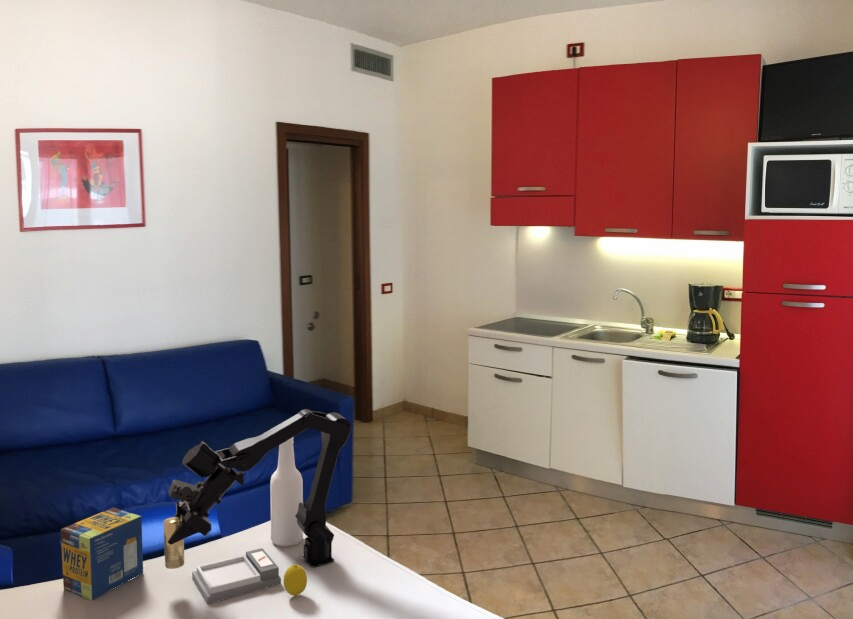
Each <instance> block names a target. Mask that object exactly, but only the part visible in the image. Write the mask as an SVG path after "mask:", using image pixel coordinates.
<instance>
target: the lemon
mask: <svg viewBox="0 0 853 619" xmlns="http://www.w3.org/2000/svg"><path fill="white" fill-rule="evenodd" d="M307 583H308V576H307V572H306V570H305V569H304V567H303V566H301V565H299V564H296V563H295V564H292V565H290V566H288V567H287V569H286V570H285V572H284V574H283V586H284V590H285V592H286V593H287V594H289V595H291V596H294V597H297V596H298V595H301V594H302V593H303V592H304V590H306V587H307V585H308V584H307Z"/></svg>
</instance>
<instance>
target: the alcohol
mask: <svg viewBox="0 0 853 619" xmlns="http://www.w3.org/2000/svg"><path fill="white" fill-rule="evenodd" d="M294 437H295V436H294ZM294 437H292V438H291V439H289V440H287V441H286V442H284V443H282V444H281V445H279V446H278V460H277V468H276V470H275V471H274V472H273V473H272V474H271V477H270V481H269V482H270V484H269V485H270V487H269V488H270V489H269V490H270V491H269V492H270V540H271V542H272V543H273V545H275V546H277V547H282V548H289V546H290V547H294V546H296V544H297V545H298V544H300V543H301V542H302V540H303V538H304V532H303V531H302V530H301V528H300V527H299V526H298V524H297V518H296V517H295V516H296V514H297V512H298V507H299V503H304V497H303V496H304V493H303V492H304V491H303V490H304V488H303V485H304V484H303V481H304V480H303V476H302V473H301V472H300V471H299V470H298V469H297V467H296V463H295V462H296V461H295V450H294V443H295V442H294ZM299 542H300V543H299ZM293 545H294V546H293Z"/></svg>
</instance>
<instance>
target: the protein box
mask: <svg viewBox="0 0 853 619" xmlns="http://www.w3.org/2000/svg"><path fill="white" fill-rule="evenodd" d="M142 520H143V518H142V516H141V515H139V514H135V513H131V512H128V511H126V510H122V509H120V508H116V507H111V508H109V509H106V510H104V511H102V512H99V513H97V514H94V515H92V516H90V517H87V518H84V519H82V520H79V521H77V522H75V523H73V524H70V525H67V526H65V527H62V528H60V538H61V539H60V543H61V544H60V545H61V563H62V564H61V565H62V579H63V581H62V582H63V590H64V591H67V592H70V593H72V594H75V595H77V596H79V597H82V598H84V599H87V600H89V599H90V600H89V601H94V600H95V599H97V598H99V597H101V596H103V595H105V594H107V593H108V591H109V590H111V589H113V588H115V587H116V588H118V587H120V586H122V585H123V584H122V583H124V584H126V583H128V582H129V581H128V580H130V579H132V578H134V577H136V576H137V577H139V576H141V575H143V574H144V560H143V559H144V555H143V552H144V551H143V549H144V548H143V526H142ZM142 573H143V574H142ZM140 574H141V575H140ZM138 575H139V576H138ZM137 577H136V578H137ZM134 579H135V578H134ZM132 580H133V579H132ZM127 581H128V582H127ZM130 581H131V580H130ZM125 582H126V583H125ZM121 584H122V585H121ZM119 585H120V586H119ZM117 586H118V587H117ZM116 588H115V589H116ZM113 590H114V589H113ZM111 591H112V590H111ZM106 592H107V593H106ZM109 592H110V591H109ZM104 593H105V594H104ZM102 594H103V595H102Z"/></svg>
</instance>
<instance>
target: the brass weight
mask: <svg viewBox="0 0 853 619" xmlns="http://www.w3.org/2000/svg"><path fill="white" fill-rule="evenodd" d="M180 523H181V518H180V517H174V516H172V517H168V518H166V519H164V520H163V544H164V545H163V546H164V566H165V568H167V569H170V570H173V569H175V570H176V569H179V568H181V567H183V566H184V565H185V539H182V540H180V541H178V542H176V543H174V544H172V545H170V544H169V543H168V540H169V539H170V537H171V536H172V534H173V533H174V531H175V530H176V529H177V527H178V526H179V524H180Z"/></svg>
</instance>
